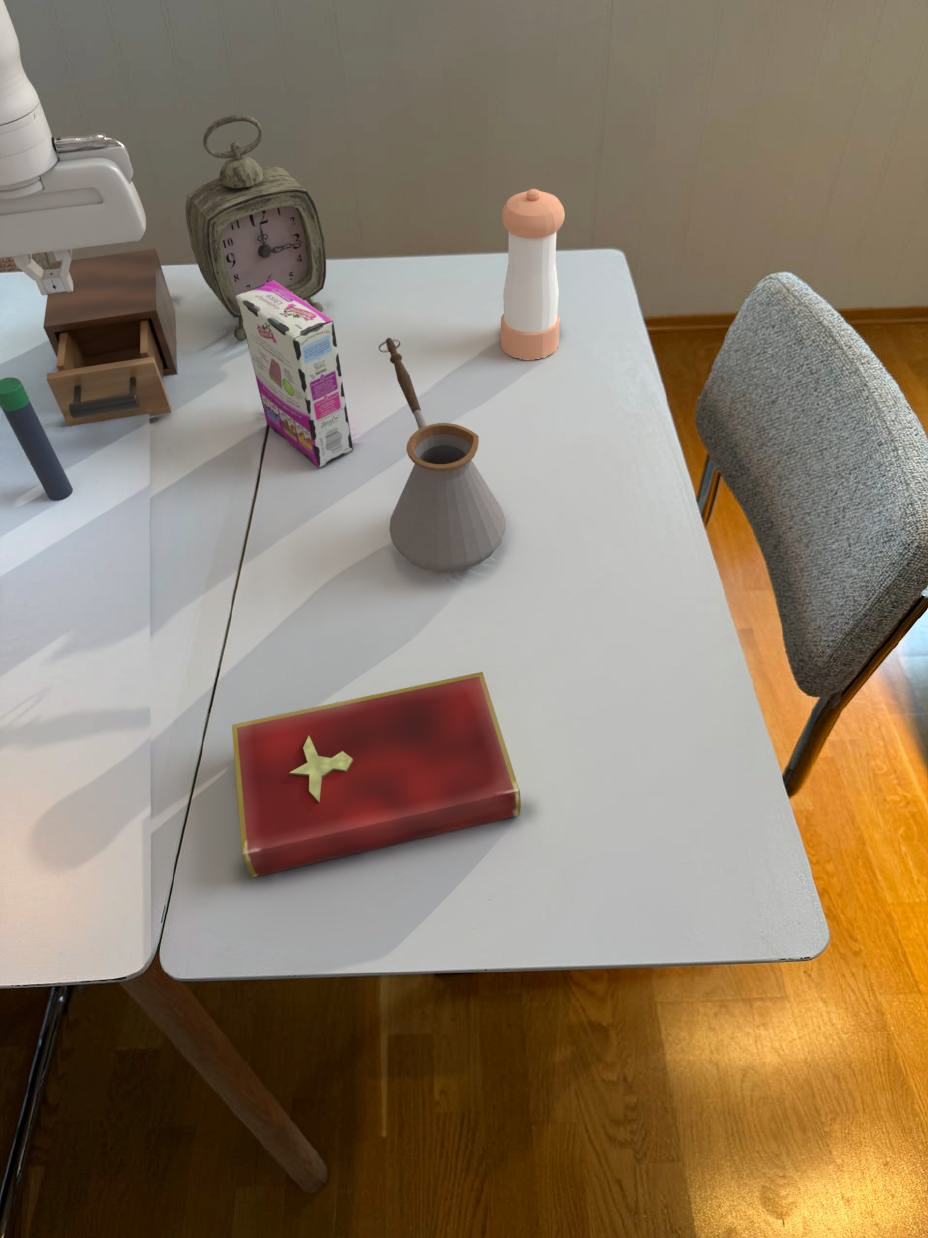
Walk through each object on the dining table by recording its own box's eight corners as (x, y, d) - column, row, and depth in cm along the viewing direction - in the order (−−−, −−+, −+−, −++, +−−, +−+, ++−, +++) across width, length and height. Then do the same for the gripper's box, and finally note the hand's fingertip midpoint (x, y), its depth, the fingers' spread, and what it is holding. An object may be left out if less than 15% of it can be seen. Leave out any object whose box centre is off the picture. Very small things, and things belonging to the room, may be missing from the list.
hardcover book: (520, 819, 71) (521, 793, 68) (254, 881, 68) (242, 857, 65) (483, 698, 78) (482, 669, 75) (242, 750, 76) (230, 722, 73)
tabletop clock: (233, 351, 114) (177, 145, 95) (208, 318, 119) (151, 116, 100) (336, 316, 118) (303, 113, 99) (308, 286, 123) (272, 87, 104)
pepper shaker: (489, 350, 112) (487, 196, 97) (518, 321, 116) (521, 169, 101) (541, 367, 109) (547, 212, 95) (569, 337, 113) (578, 183, 99)
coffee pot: (523, 567, 88) (526, 447, 77) (413, 601, 86) (399, 482, 74) (448, 439, 101) (441, 320, 90) (351, 465, 99) (330, 347, 87)
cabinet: (177, 374, 111) (156, 309, 104) (71, 390, 110) (43, 326, 103) (175, 310, 120) (155, 247, 114) (77, 325, 119) (51, 262, 112)
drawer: (172, 439, 101) (154, 388, 96) (67, 457, 100) (42, 406, 95) (169, 348, 113) (153, 297, 108) (75, 362, 112) (54, 312, 106)
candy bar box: (356, 450, 101) (336, 319, 88) (320, 470, 99) (293, 339, 86) (300, 405, 106) (273, 276, 94) (264, 423, 104) (232, 294, 92)
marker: (51, 512, 96) (-11, 396, 84) (53, 496, 97) (-8, 379, 86) (77, 508, 96) (19, 391, 85) (78, 491, 98) (21, 374, 86)
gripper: (123, 116, 81) (165, 260, 92) (-117, 141, 78) (-45, 287, 89) (121, 145, 77) (165, 293, 88) (-131, 173, 74) (-54, 322, 85)
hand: (58, 290), depth 88 cm, fingers closed
